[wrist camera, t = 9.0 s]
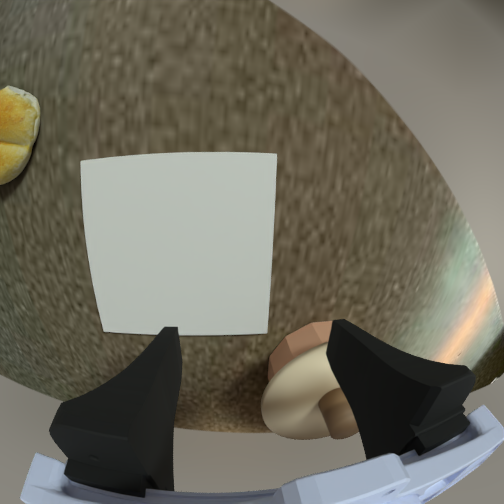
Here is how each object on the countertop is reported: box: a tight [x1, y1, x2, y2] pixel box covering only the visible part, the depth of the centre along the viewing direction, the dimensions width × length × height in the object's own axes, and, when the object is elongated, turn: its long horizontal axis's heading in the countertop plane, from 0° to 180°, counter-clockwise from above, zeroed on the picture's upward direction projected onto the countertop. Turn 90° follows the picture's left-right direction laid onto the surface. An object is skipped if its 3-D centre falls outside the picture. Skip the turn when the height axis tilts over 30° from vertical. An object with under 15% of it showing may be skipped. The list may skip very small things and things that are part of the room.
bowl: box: [268, 321, 332, 382], centre depth 24 cm, size 10×10×5 cm
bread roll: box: [0, 86, 41, 185], centre depth 14 cm, size 8×9×4 cm
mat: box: [81, 152, 277, 335], centre depth 21 cm, size 15×15×1 cm
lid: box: [261, 338, 384, 440], centre depth 20 cm, size 13×13×4 cm
